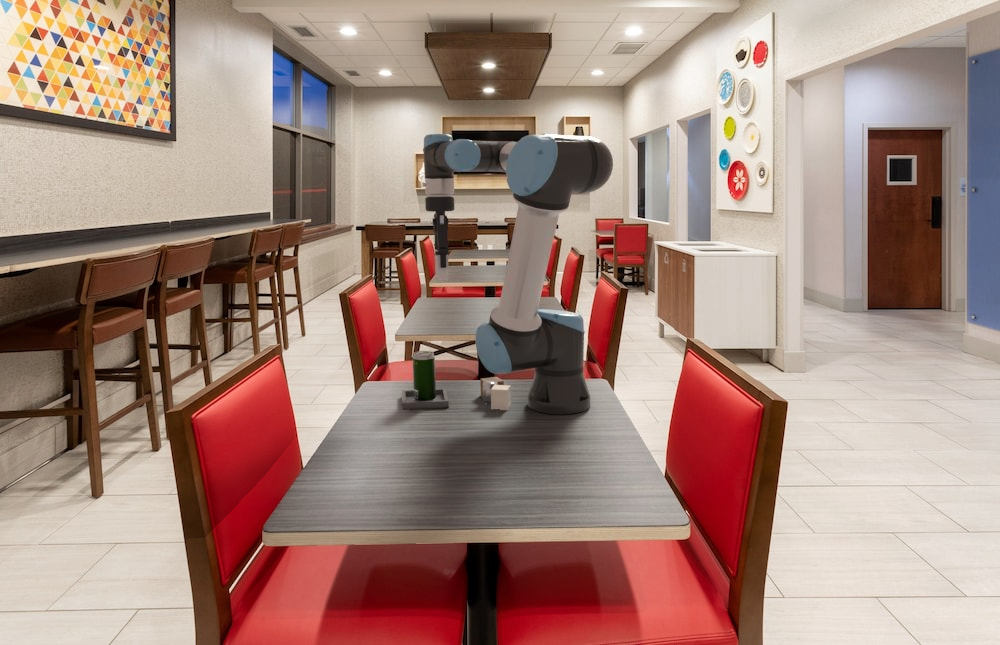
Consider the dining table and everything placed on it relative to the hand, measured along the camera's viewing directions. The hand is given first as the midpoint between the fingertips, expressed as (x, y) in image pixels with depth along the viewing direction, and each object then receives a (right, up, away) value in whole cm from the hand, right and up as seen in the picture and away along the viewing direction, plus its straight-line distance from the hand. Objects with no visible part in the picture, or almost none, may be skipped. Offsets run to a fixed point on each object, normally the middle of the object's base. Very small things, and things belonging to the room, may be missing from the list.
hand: (441, 277), depth 187 cm
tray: (-3, -32, -12) cm, 34 cm away
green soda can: (-3, -31, -13) cm, 34 cm away
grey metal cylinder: (+13, -32, -13) cm, 37 cm away
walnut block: (+13, -31, -9) cm, 35 cm away
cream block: (+16, -32, -17) cm, 40 cm away
